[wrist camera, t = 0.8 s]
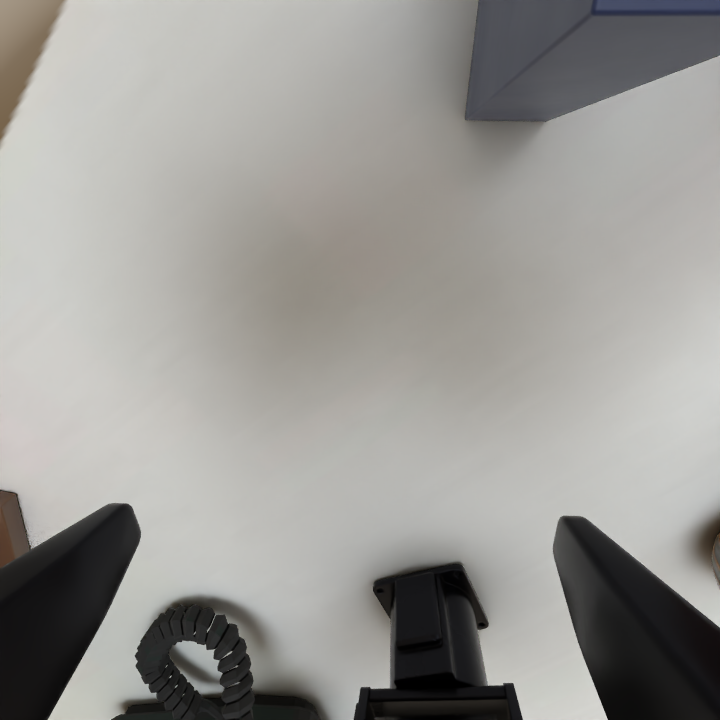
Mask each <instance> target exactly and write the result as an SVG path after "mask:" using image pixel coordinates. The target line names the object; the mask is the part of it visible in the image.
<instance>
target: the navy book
mask: <svg viewBox="0 0 720 720" xmlns="http://www.w3.org/2000/svg"><path fill="white" fill-rule="evenodd" d="M719 55H720V0H479V3H478V11H477V20H476V28H475V37H474V45H473V54H472V62H471V71H470V79H469V88H468V96H467V105H466V113H465V120H481V121H545V122H546V121H548V120H551V119H554V118H556V117H559V116H561V115H564V114H567V113H569V112H572V111H575V110H577V109H580V108H583V107H585V106H588V105H590V104H593V103H596V102H598V101H601V100H604V99H606V98H609V97H611V96H614V95H617V94H619V93H622V92H625V91H627V90H630V89H632V88H635V87H638V86H640V85H643V84H646V83H648V82H651V81H654V80H656V79H659V78H661V77H664V76H667V75H669V74H672V73H675V72H677V71H680V70H682V69H685V68H688V67H690V66H693V65H696V64H698V63H701V62H704V61H706V60H709V59H711V58H714V57H717V56H719Z"/></svg>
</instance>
